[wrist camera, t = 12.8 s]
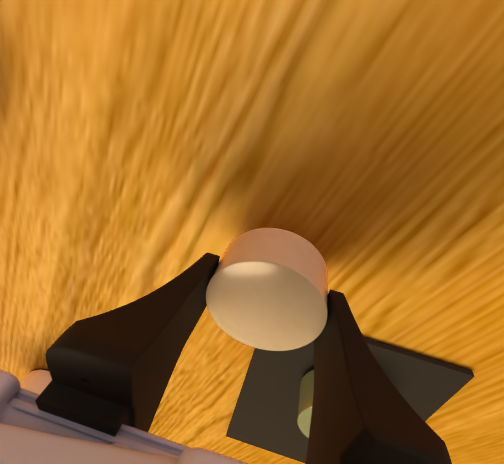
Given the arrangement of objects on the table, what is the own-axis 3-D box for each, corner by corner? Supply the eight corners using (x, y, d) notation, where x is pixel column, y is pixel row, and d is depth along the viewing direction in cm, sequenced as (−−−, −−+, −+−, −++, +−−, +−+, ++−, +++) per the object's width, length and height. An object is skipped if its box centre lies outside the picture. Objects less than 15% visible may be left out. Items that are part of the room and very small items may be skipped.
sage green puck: (393, 377, 20) (403, 424, 17) (361, 416, 23) (365, 460, 20) (313, 352, 20) (311, 394, 18) (292, 393, 23) (287, 434, 21)
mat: (472, 370, 18) (475, 376, 18) (358, 476, 28) (358, 481, 28) (268, 307, 19) (267, 312, 19) (227, 431, 29) (225, 436, 29)
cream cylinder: (344, 242, 14) (347, 284, 11) (309, 319, 17) (305, 364, 14) (232, 210, 14) (213, 244, 12) (217, 290, 17) (199, 330, 15)
